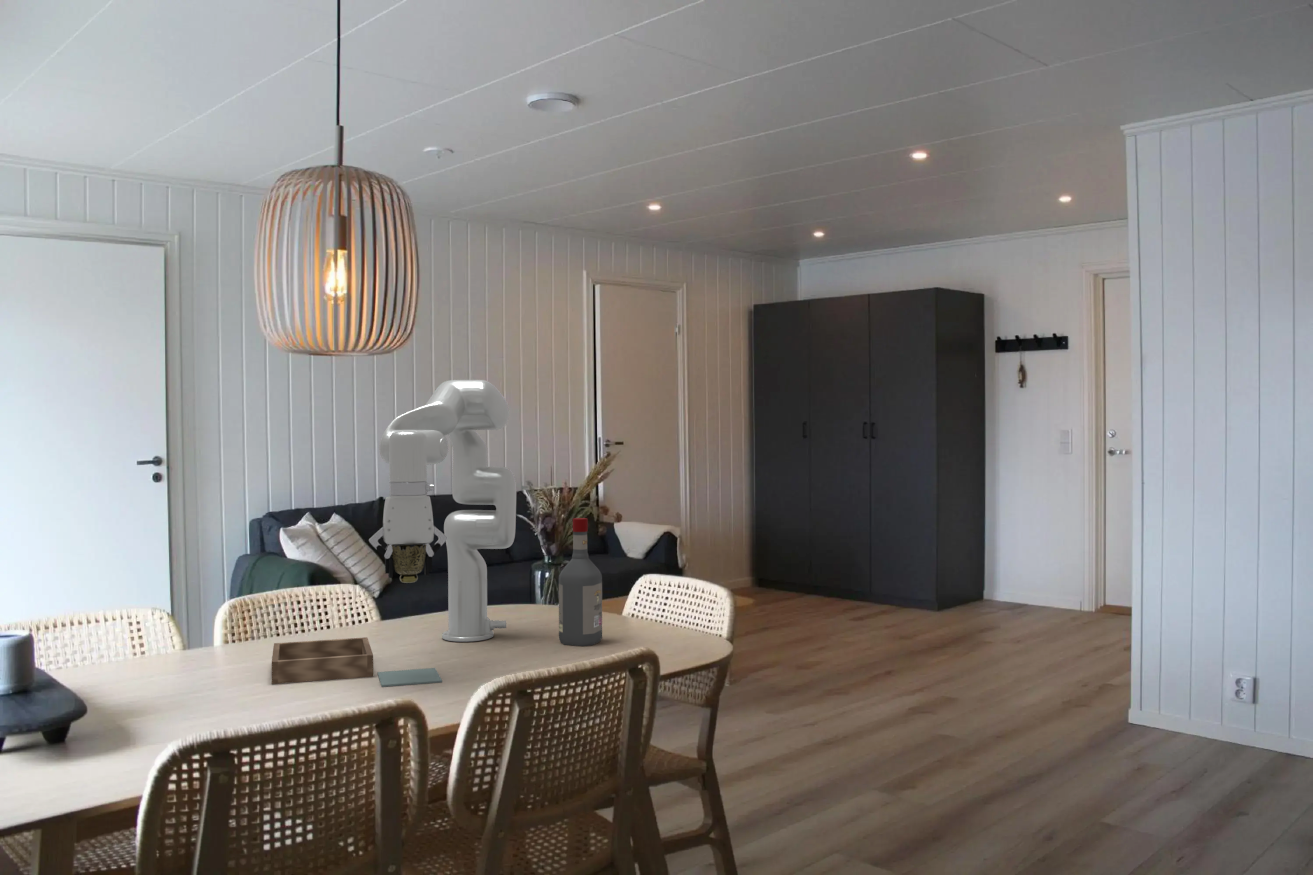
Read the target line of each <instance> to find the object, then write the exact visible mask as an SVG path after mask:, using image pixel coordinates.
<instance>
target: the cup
mask: <svg viewBox="0 0 1313 875" xmlns="http://www.w3.org/2000/svg"><path fill="white" fill-rule="evenodd" d="M392 550H393V552H392V554H391V555H392V559H393V571H395V573H397V574H399V575H400V576H399V581H400V582H401V583H404V584H405V583H406V584H408V583H409V584H411V583H415V582H417V581H418V579H419V577H418V574H420V573H421V572H422V571H423V569H424V564H425V557H426V545H424V547H423V545H397V546H393V545H392Z"/></svg>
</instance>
